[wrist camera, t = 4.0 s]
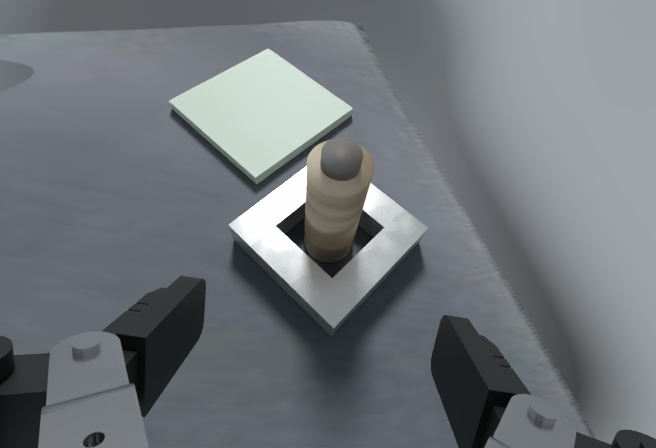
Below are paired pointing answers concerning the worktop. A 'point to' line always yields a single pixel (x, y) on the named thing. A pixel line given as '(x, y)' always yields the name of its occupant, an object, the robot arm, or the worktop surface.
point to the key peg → (335, 197)
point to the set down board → (261, 113)
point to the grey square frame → (303, 273)
